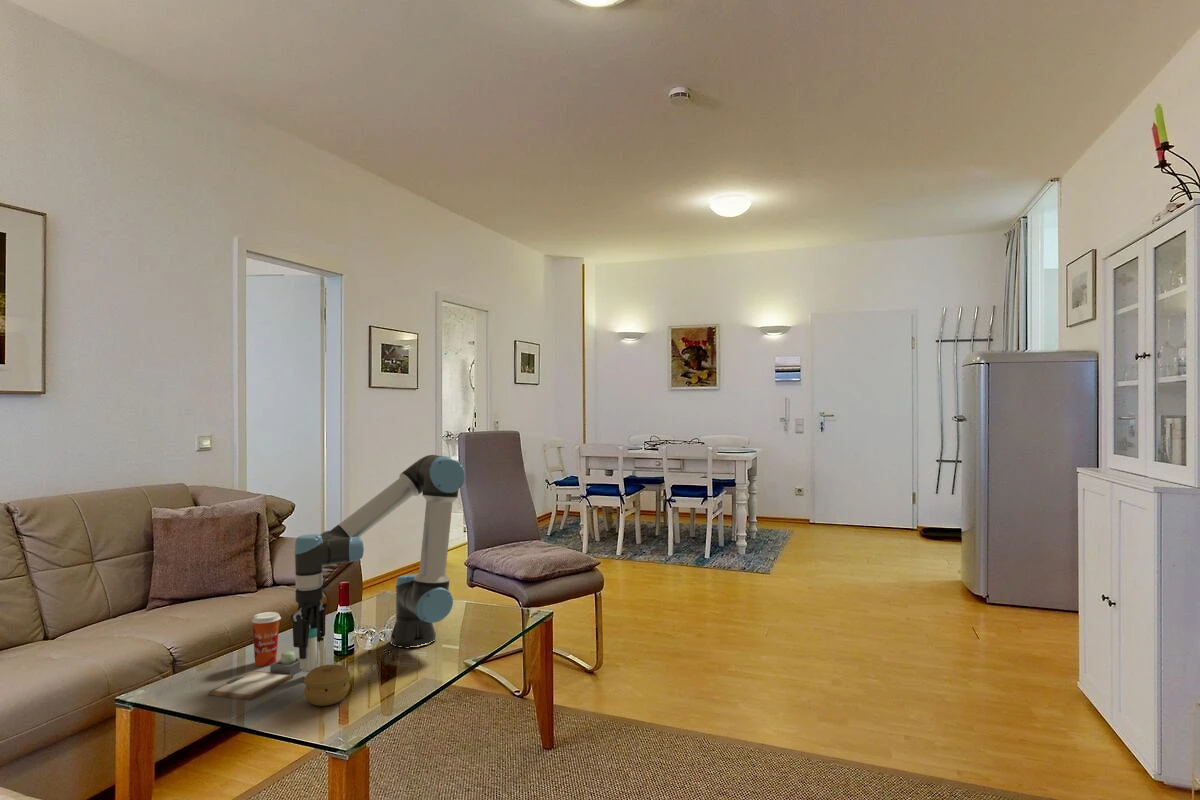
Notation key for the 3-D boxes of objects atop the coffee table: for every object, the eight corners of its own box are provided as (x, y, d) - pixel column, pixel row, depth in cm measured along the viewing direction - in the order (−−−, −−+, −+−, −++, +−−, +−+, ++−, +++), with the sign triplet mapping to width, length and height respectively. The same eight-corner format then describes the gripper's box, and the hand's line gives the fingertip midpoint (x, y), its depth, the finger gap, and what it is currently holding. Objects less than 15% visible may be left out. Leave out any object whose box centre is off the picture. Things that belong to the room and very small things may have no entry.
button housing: (305, 668, 215) (305, 658, 215) (290, 676, 208) (290, 666, 208) (286, 666, 217) (286, 656, 217) (270, 674, 210) (270, 664, 210)
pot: (350, 691, 197) (350, 655, 197) (349, 707, 186) (349, 669, 186) (305, 696, 193) (305, 660, 193) (301, 713, 182) (302, 675, 182)
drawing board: (293, 677, 207) (293, 672, 207) (250, 700, 191) (250, 694, 191) (253, 673, 211) (253, 668, 211) (208, 694, 194) (208, 689, 194)
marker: (320, 667, 209) (320, 627, 210) (311, 672, 205) (310, 632, 205) (308, 666, 210) (308, 626, 211) (299, 671, 206) (298, 631, 207)
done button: (298, 663, 214) (298, 651, 214) (289, 668, 210) (289, 656, 210) (287, 662, 215) (287, 650, 215) (278, 667, 211) (278, 654, 211)
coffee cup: (251, 669, 214) (251, 620, 215) (250, 660, 221) (251, 613, 222) (281, 664, 218) (281, 616, 218) (279, 656, 225) (280, 610, 226)
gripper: (316, 579, 217) (317, 655, 217) (278, 594, 201) (279, 675, 201) (337, 581, 215) (338, 657, 215) (300, 595, 199) (301, 677, 199)
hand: (310, 665), depth 208 cm, fingers closed on marker, 4 cm apart
